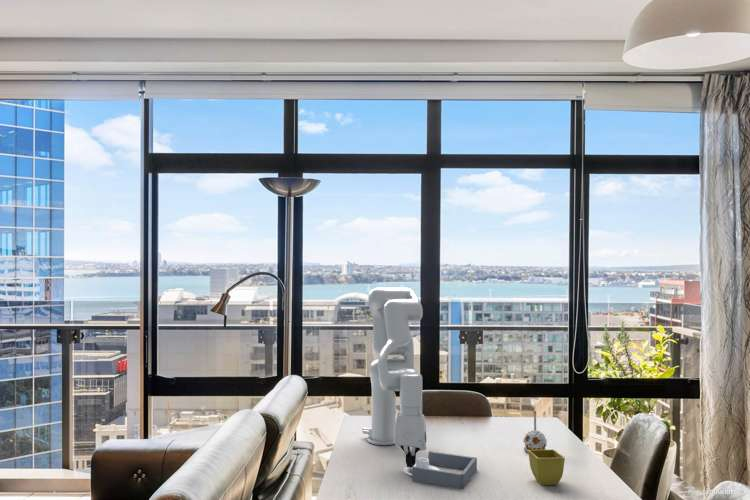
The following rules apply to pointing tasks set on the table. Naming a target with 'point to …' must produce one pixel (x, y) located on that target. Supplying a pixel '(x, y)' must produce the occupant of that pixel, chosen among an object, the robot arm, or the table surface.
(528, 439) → the decorative ornament
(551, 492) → the table surface
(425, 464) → the candle holder
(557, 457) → the flower pot
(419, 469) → the box
